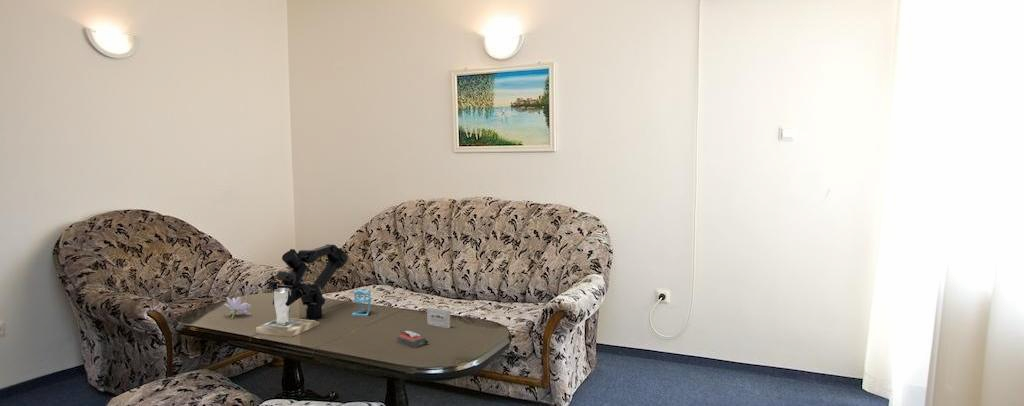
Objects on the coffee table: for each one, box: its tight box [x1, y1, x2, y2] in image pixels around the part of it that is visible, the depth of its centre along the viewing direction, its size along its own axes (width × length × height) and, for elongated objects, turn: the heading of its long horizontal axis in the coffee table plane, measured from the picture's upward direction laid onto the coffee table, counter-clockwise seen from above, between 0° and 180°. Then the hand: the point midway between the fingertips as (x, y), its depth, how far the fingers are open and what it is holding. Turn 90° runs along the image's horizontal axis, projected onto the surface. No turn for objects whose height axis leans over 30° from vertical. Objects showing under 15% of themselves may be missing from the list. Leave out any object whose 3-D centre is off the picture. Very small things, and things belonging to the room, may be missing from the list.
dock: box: [255, 317, 320, 338], centre depth 256 cm, size 18×18×4 cm
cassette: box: [426, 306, 451, 329], centre depth 257 cm, size 12×2×8 cm, turn 59°
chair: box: [351, 289, 373, 317], centre depth 278 cm, size 8×8×12 cm
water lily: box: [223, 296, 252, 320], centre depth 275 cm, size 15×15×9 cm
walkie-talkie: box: [396, 330, 429, 349], centre depth 238 cm, size 9×4×20 cm
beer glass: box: [273, 288, 292, 326], centre depth 253 cm, size 7×7×15 cm
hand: (280, 305), depth 251 cm, fingers open, 7 cm apart
